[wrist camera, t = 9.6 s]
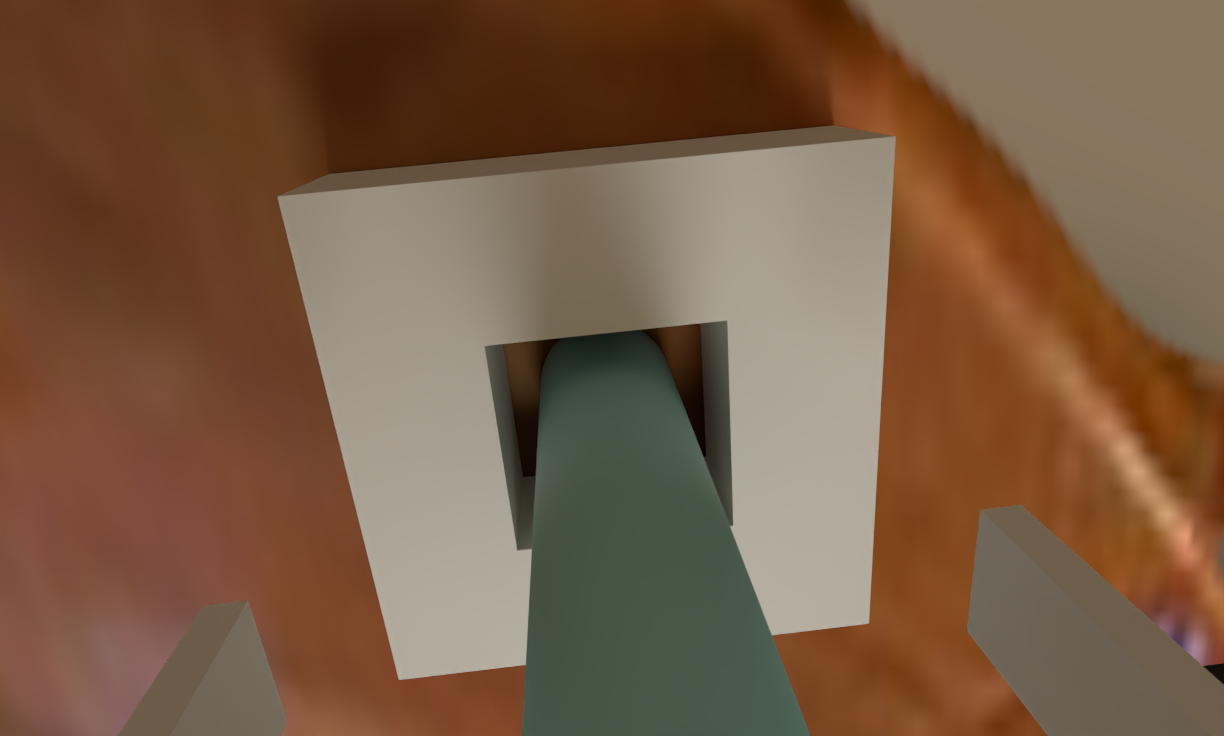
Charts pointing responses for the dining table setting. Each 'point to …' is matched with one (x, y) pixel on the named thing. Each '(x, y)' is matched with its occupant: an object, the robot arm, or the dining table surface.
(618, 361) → the peg
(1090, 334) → the dining table surface
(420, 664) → the socket block
